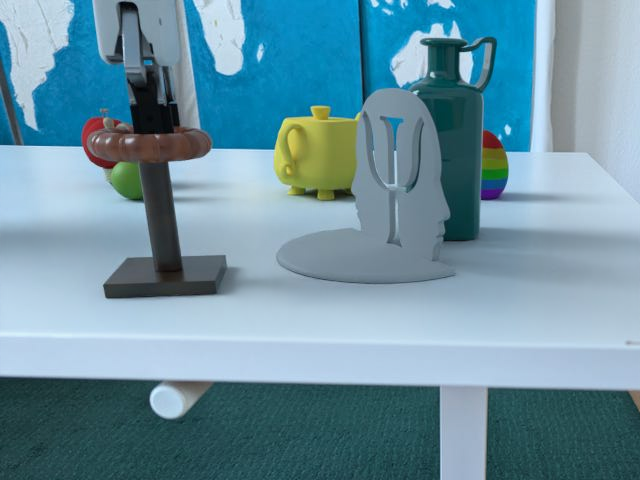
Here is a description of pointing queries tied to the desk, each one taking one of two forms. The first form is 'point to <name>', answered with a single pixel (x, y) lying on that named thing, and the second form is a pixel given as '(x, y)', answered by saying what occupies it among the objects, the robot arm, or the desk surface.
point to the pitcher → (456, 128)
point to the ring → (149, 145)
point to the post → (164, 250)
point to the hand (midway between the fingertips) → (160, 149)
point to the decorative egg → (493, 167)
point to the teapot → (317, 153)
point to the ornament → (384, 203)
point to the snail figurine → (124, 170)
